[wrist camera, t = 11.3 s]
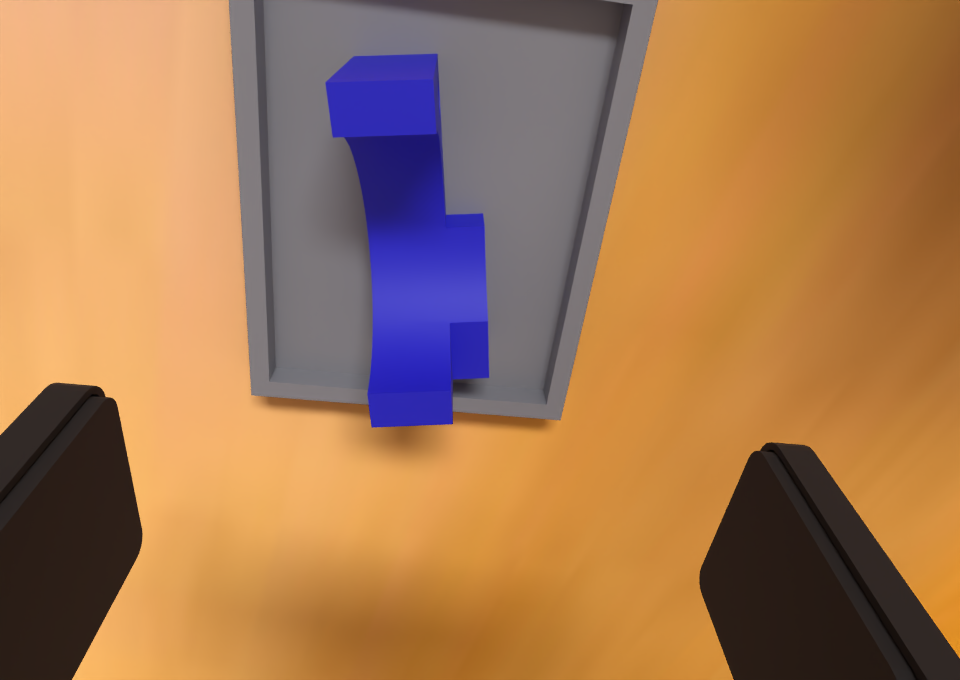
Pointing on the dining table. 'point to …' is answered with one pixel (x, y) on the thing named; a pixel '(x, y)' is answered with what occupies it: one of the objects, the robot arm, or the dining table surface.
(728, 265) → the dining table surface
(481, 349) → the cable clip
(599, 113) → the shallow rectangular tray
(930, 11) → the dining table surface
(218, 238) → the dining table surface
